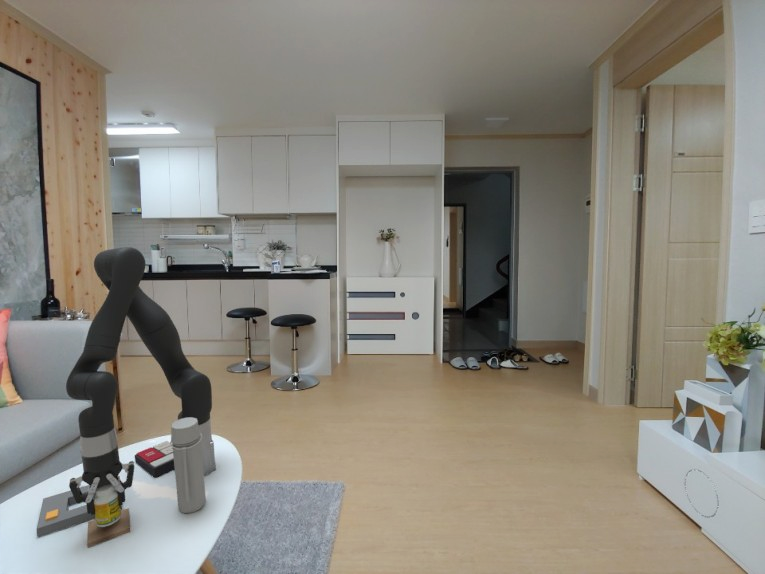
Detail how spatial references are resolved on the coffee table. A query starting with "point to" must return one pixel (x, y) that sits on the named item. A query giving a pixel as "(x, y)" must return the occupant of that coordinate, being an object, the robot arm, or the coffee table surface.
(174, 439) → the water bottle
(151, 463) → the calculator
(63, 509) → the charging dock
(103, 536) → the coaster pad
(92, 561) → the coffee table surface
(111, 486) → the supplement bottle
